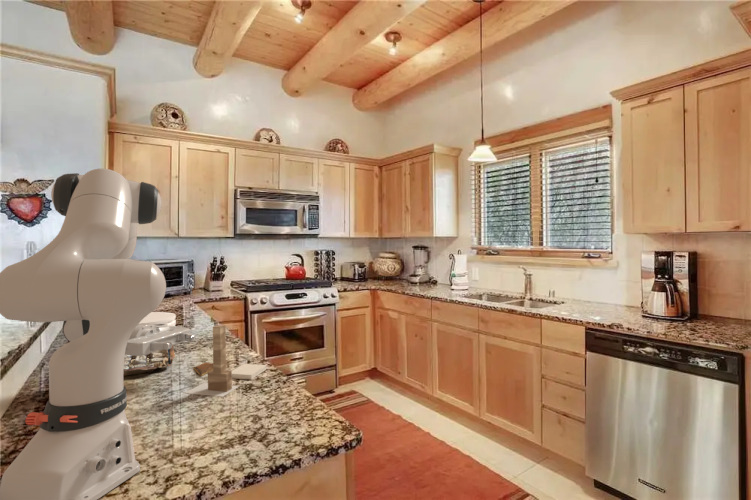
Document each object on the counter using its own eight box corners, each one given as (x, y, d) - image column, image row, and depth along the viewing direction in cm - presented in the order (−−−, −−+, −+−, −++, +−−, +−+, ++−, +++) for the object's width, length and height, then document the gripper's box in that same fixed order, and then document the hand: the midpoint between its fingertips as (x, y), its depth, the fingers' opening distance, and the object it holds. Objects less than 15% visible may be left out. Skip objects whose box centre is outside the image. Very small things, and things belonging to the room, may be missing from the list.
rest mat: (222, 398, 107) (222, 396, 107) (184, 394, 110) (184, 392, 110) (239, 387, 115) (239, 386, 115) (203, 384, 118) (203, 382, 118)
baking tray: (180, 374, 130) (180, 357, 129) (99, 386, 118) (99, 368, 118) (171, 352, 155) (171, 338, 155) (103, 360, 143) (103, 345, 143)
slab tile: (251, 375, 121) (266, 365, 131) (227, 373, 122) (244, 363, 132) (251, 382, 121) (266, 371, 131) (227, 380, 122) (244, 370, 132)
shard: (201, 379, 123) (201, 373, 123) (179, 377, 125) (179, 372, 125) (221, 368, 134) (221, 363, 134) (201, 367, 136) (201, 362, 136)
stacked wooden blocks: (226, 391, 111) (226, 327, 111) (207, 389, 112) (207, 326, 112) (231, 388, 113) (231, 325, 113) (213, 387, 115) (212, 324, 114)
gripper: (111, 337, 108) (154, 339, 104) (167, 322, 128) (204, 324, 124) (111, 360, 108) (154, 363, 104) (167, 342, 128) (205, 344, 124)
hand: (182, 342), depth 115 cm, fingers open, 8 cm apart
